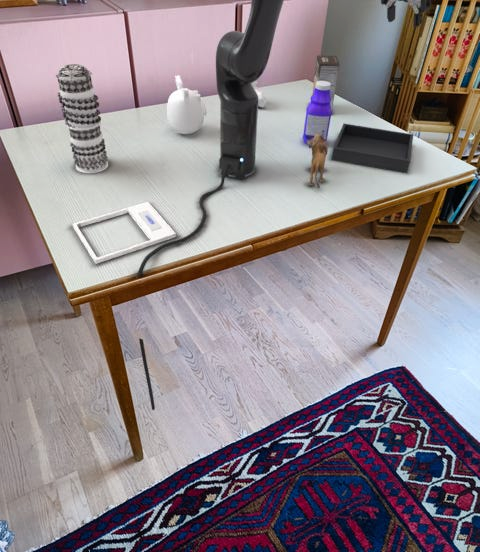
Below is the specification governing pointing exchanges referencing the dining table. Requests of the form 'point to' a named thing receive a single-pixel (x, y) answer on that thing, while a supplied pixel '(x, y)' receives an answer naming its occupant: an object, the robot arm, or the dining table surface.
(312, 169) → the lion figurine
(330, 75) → the coffee box
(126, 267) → the dining table surface
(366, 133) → the shallow square tray
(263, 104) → the bust
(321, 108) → the bottle
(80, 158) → the decorative candle
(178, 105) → the piggy bank
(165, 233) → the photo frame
